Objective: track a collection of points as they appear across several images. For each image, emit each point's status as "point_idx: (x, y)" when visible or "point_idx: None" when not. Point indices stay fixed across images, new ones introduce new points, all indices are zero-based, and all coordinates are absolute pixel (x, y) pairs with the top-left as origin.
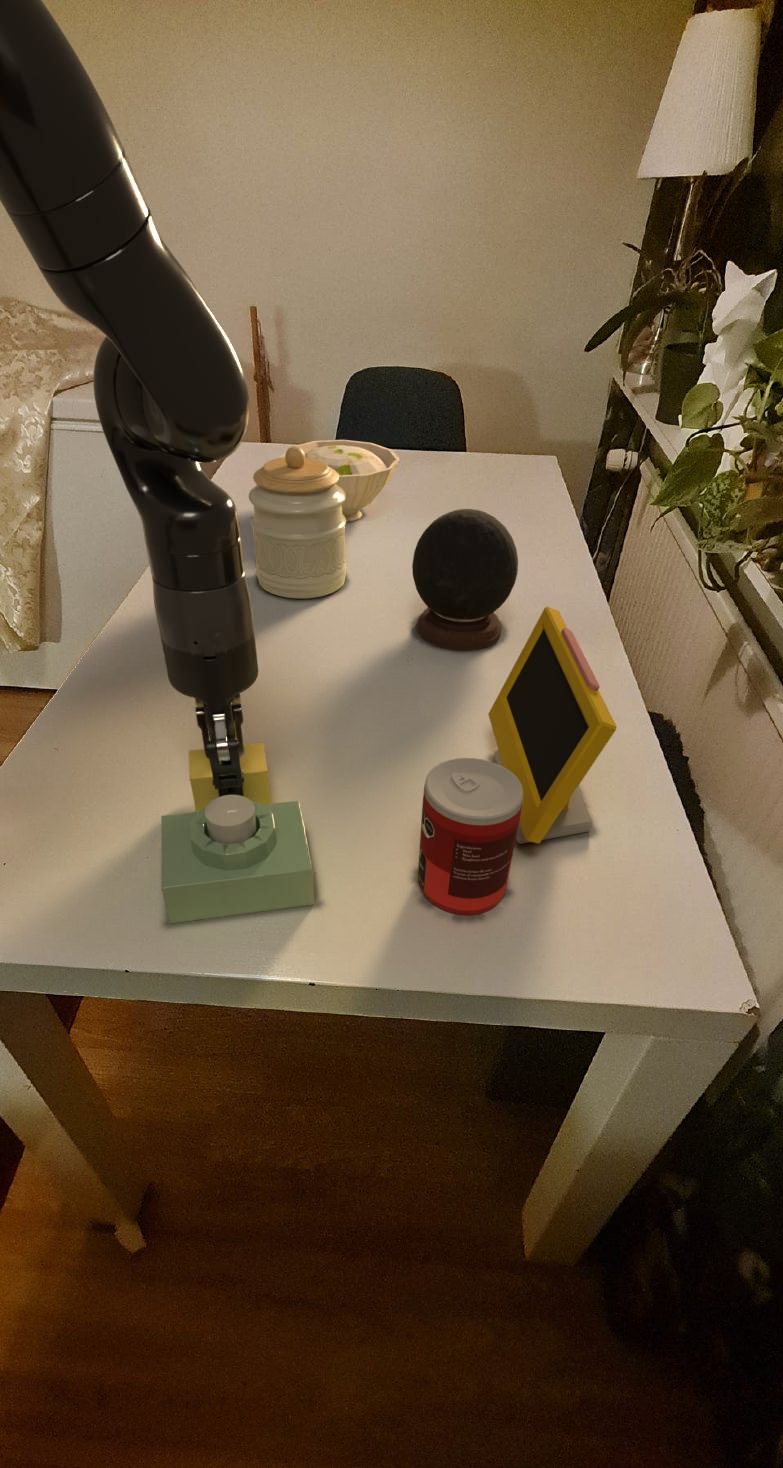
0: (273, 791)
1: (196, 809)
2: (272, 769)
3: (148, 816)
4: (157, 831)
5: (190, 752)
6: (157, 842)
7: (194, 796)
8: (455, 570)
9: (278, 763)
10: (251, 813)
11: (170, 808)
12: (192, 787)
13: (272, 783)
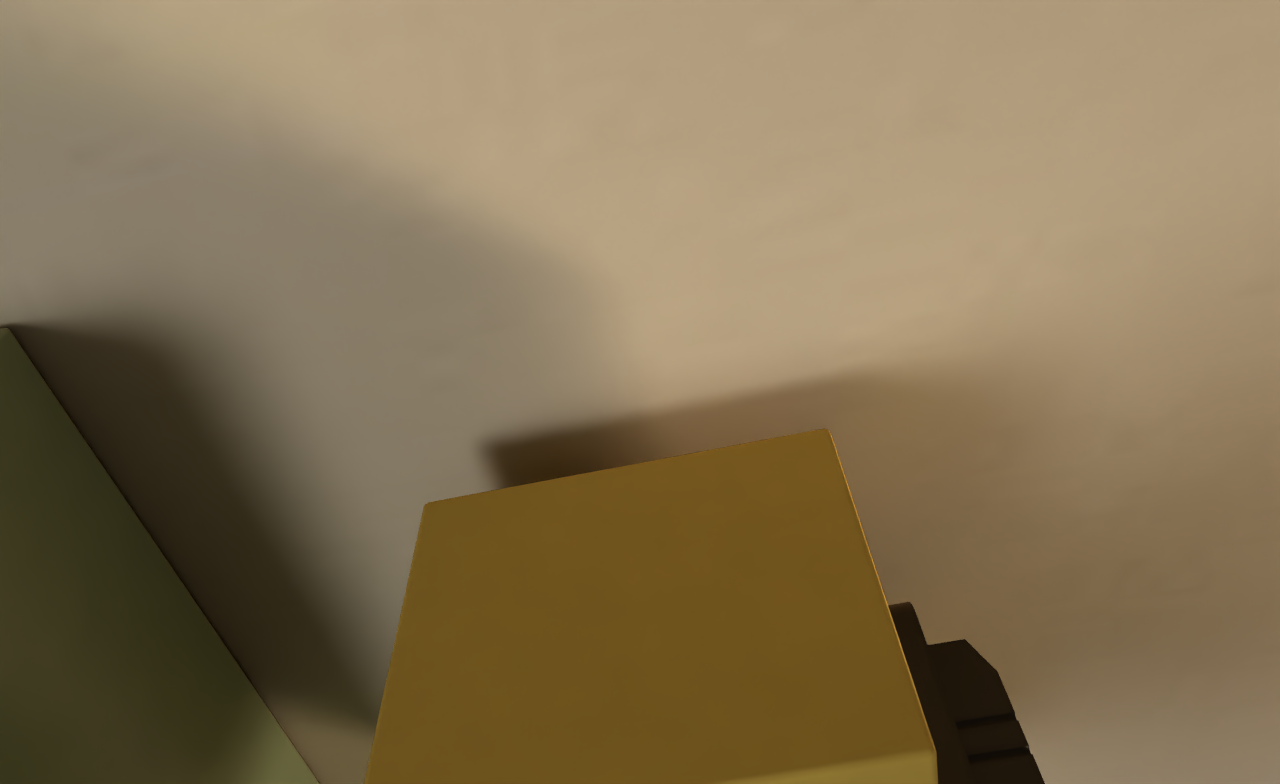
0: None
1: (419, 531)
2: None
3: (429, 27)
4: (226, 167)
5: (888, 773)
6: (79, 201)
7: (394, 649)
8: None
9: (1069, 757)
10: None
11: (574, 212)
12: (376, 742)
13: None
